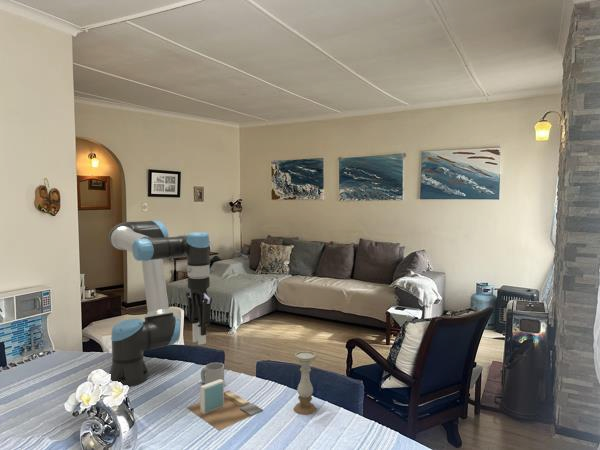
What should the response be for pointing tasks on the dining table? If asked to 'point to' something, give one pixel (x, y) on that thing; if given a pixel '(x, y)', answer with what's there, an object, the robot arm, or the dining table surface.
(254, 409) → the turner
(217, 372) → the cup
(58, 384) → the dining table surface
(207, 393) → the tile
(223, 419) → the board
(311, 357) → the candle holder
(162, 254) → the robot arm
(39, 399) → the dining table surface
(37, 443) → the dining table surface
